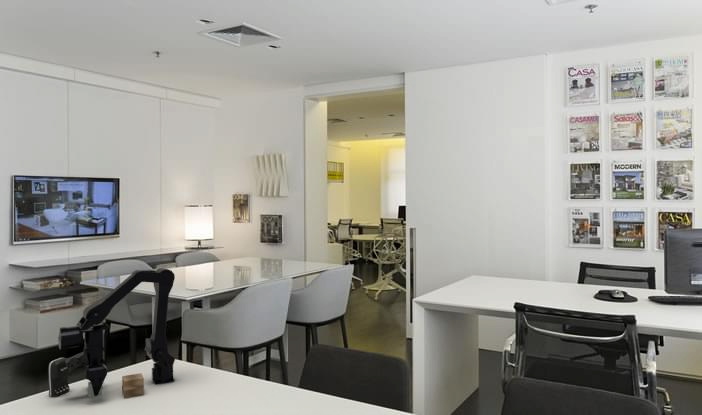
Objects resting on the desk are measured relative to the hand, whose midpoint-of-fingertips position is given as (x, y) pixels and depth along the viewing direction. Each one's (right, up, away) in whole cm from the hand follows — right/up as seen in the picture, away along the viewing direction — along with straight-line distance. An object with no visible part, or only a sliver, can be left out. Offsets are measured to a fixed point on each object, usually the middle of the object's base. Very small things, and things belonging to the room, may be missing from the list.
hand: (95, 391), depth 177 cm
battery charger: (-12, -2, +1) cm, 12 cm away
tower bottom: (+12, -1, 0) cm, 12 cm away
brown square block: (+12, +2, 0) cm, 13 cm away
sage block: (0, -1, 0) cm, 1 cm away
